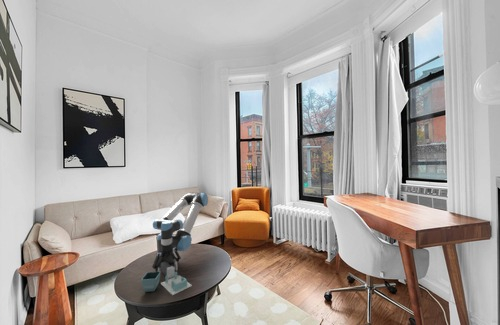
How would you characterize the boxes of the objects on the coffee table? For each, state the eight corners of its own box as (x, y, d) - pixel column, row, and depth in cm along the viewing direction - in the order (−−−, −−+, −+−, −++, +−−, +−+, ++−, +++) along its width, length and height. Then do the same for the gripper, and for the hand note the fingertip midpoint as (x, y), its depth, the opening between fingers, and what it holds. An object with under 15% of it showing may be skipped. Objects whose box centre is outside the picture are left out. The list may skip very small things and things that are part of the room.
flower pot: (147, 285, 135) (146, 271, 135) (161, 284, 135) (160, 271, 135) (141, 294, 126) (140, 279, 126) (156, 293, 127) (155, 278, 127)
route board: (160, 283, 136) (160, 277, 136) (179, 275, 146) (179, 269, 146) (172, 295, 125) (172, 288, 125) (191, 285, 134) (191, 279, 134)
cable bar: (160, 271, 152) (160, 262, 152) (165, 269, 155) (165, 260, 155) (168, 278, 142) (168, 269, 142) (174, 276, 145) (174, 267, 145)
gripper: (151, 250, 137) (151, 282, 137) (185, 240, 155) (185, 268, 155) (146, 247, 142) (147, 278, 143) (180, 237, 160) (180, 265, 160)
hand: (167, 273), depth 149 cm, fingers open, 12 cm apart
